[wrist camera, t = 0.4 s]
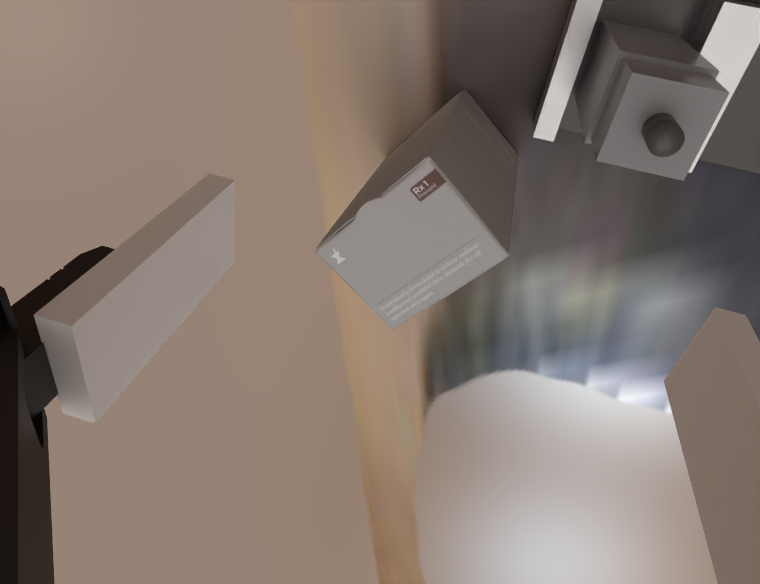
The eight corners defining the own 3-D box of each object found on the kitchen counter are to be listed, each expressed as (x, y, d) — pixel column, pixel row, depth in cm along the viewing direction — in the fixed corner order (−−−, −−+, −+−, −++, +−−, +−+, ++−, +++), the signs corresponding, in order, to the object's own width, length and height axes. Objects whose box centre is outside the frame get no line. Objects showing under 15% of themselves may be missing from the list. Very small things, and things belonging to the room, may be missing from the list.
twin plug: (601, 19, 32) (633, 74, 21) (678, 35, 32) (751, 98, 21) (574, 95, 35) (591, 178, 24) (645, 111, 35) (694, 201, 24)
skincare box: (436, 218, 43) (394, 345, 30) (375, 150, 41) (303, 256, 28) (527, 152, 38) (521, 270, 26) (463, 72, 36) (423, 157, 24)
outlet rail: (581, -31, 32) (585, -26, 29) (889, 28, 30) (925, 40, 27) (533, 120, 37) (532, 137, 34) (792, 177, 35) (813, 200, 32)
